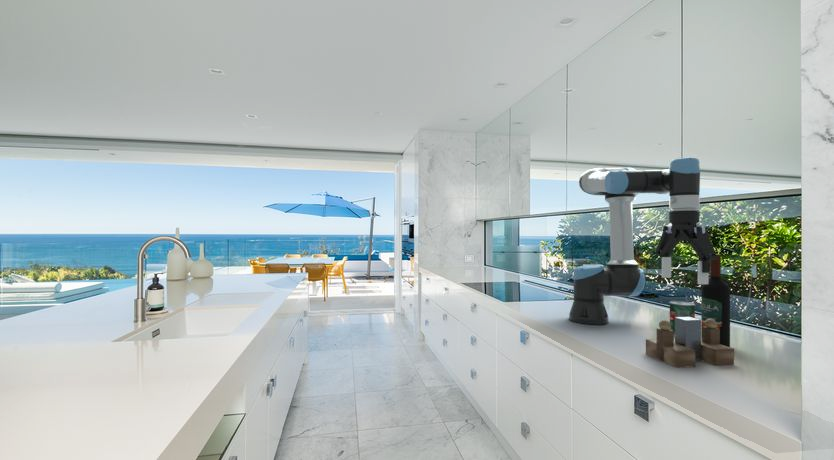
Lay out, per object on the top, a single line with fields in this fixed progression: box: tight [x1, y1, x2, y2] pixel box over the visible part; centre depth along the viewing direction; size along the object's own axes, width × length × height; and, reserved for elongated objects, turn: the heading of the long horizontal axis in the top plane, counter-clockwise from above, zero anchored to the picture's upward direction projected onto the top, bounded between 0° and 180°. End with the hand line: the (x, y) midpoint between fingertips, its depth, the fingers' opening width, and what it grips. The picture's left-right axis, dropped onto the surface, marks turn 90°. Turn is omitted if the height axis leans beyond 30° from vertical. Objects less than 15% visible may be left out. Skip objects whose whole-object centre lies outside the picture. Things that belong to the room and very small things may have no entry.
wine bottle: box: [700, 254, 731, 348], centre depth 128 cm, size 8×8×30 cm
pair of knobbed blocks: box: [645, 319, 735, 368], centre depth 115 cm, size 12×18×12 cm, turn 97°
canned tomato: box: [669, 300, 696, 334], centre depth 144 cm, size 8×8×11 cm
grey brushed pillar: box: [674, 317, 702, 362], centre depth 115 cm, size 4×5×12 cm
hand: (683, 280), depth 116 cm, fingers open, 13 cm apart
